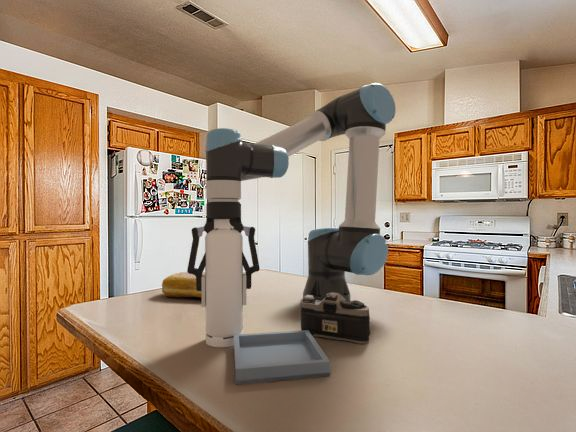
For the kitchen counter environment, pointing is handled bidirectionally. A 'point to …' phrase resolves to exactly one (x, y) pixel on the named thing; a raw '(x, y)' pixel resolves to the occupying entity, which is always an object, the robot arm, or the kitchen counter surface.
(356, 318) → the camera
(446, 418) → the kitchen counter surface
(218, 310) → the bottle
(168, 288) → the bread
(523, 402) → the kitchen counter surface
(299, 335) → the tray
